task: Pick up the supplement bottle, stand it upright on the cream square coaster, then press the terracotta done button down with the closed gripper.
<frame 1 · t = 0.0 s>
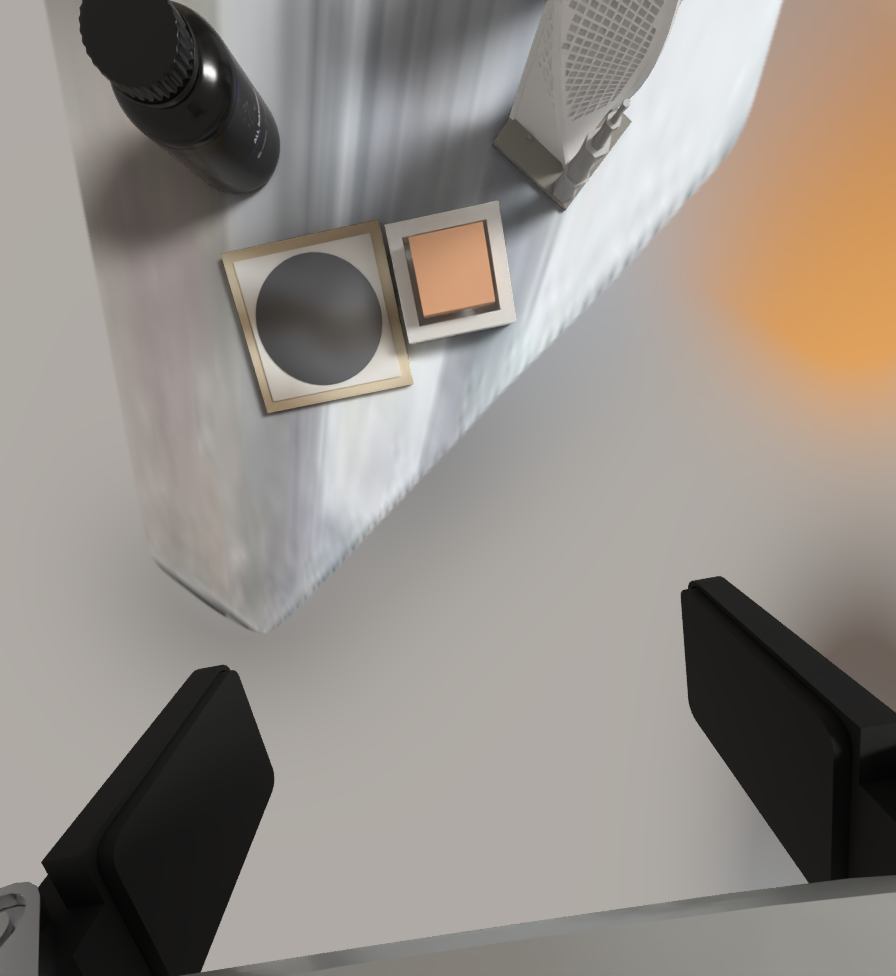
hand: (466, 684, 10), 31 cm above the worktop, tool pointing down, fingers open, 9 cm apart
skyscraper: (557, 121, 34), on the worktop
done button: (452, 272, 33), point 4 cm above the worktop, slide at 0.0 cm
supplement bottle: (236, 144, 34), on the worktop
button housing: (451, 280, 37), on the worktop
cream square coaster: (322, 321, 37), on the worktop
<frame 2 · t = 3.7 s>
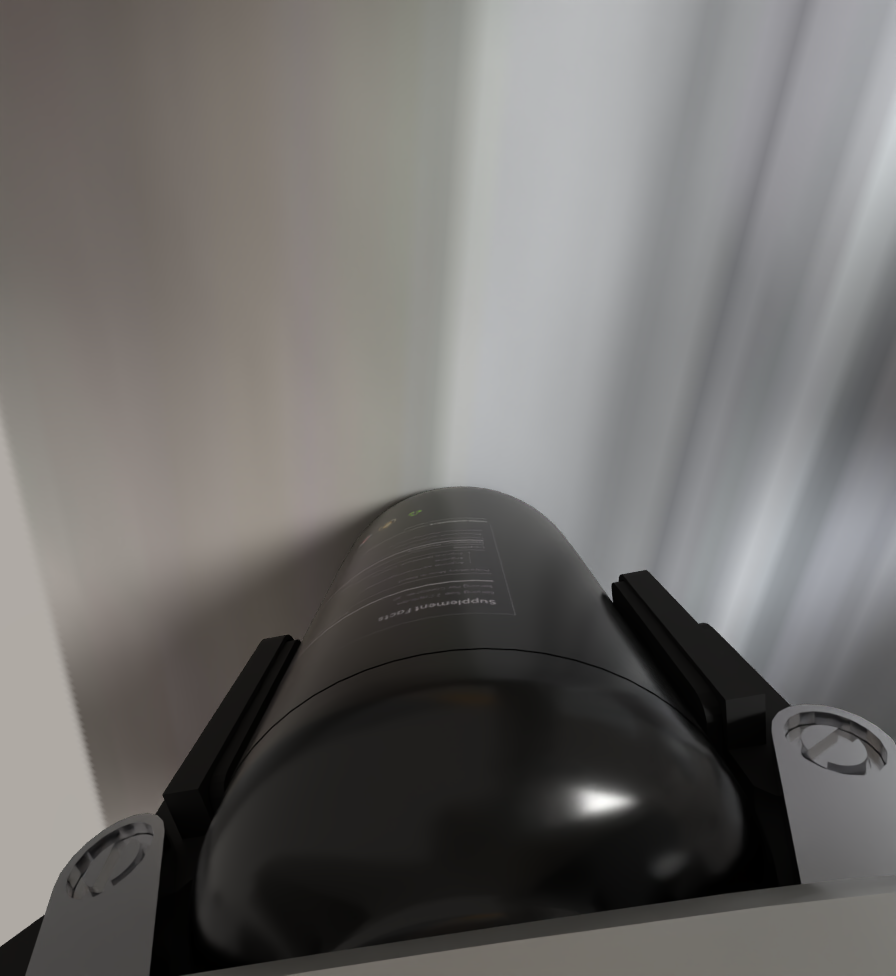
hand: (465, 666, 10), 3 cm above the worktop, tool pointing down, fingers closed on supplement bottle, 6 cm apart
supplement bottle: (460, 590, 14), on the worktop, touching gripper
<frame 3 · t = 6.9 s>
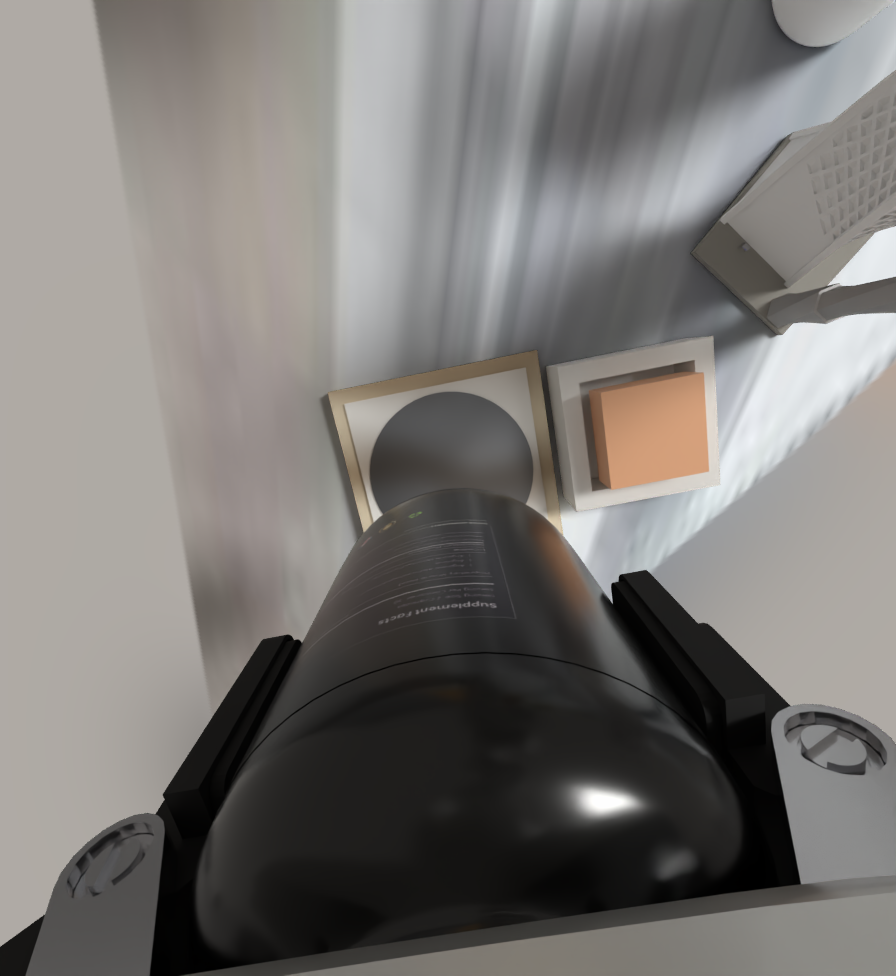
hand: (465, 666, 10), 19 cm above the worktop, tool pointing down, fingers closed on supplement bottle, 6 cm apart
skyscraper: (778, 223, 26), on the worktop
done button: (647, 430, 25), point 4 cm above the worktop, slide at 0.0 cm
supplement bottle: (460, 591, 14), point 16 cm above the worktop, touching gripper
button housing: (621, 421, 28), on the worktop
cream square coaster: (451, 470, 29), on the worktop
when the fingers open (6 cm above the worktop, at t = 9.9 s): supplement bottle drops 1 cm, resting on cream square coaster.
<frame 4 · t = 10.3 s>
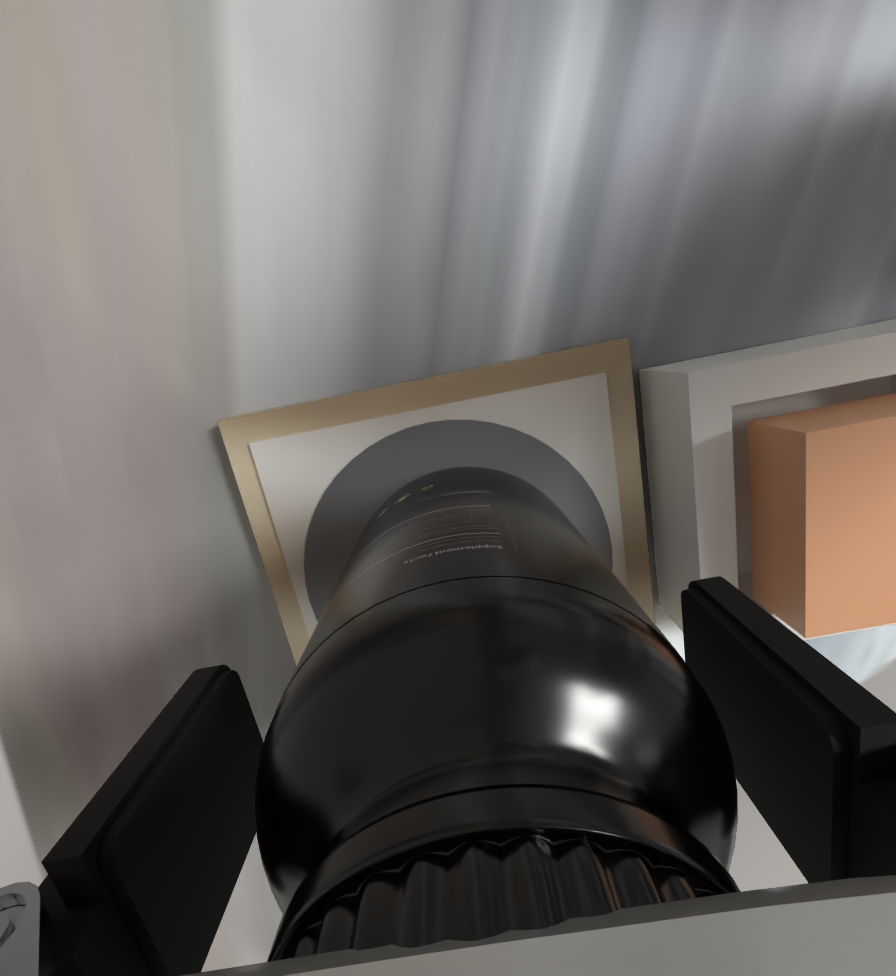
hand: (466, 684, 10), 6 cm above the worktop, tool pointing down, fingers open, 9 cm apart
done button: (880, 507, 12), point 4 cm above the worktop, slide at 0.0 cm
supplement bottle: (466, 563, 15), point 1 cm above the worktop, touching cream square coaster
button housing: (774, 471, 15), on the worktop
cream square coaster: (457, 559, 16), on the worktop
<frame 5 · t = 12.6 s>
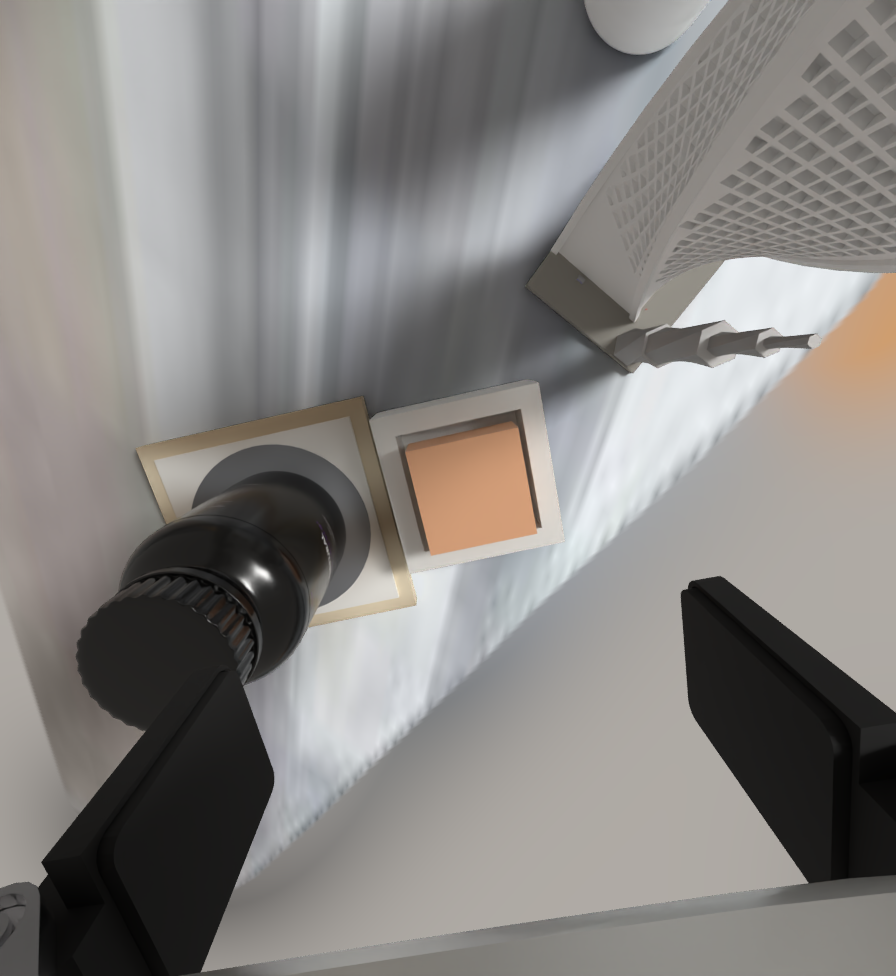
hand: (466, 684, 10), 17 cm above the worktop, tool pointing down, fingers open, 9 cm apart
skyscraper: (620, 251, 23), on the worktop
done button: (471, 487, 22), point 4 cm above the worktop, slide at 0.0 cm
supplement bottle: (286, 526, 26), point 1 cm above the worktop, touching cream square coaster
button housing: (467, 468, 26), on the worktop
cream square coaster: (287, 525, 27), on the worktop
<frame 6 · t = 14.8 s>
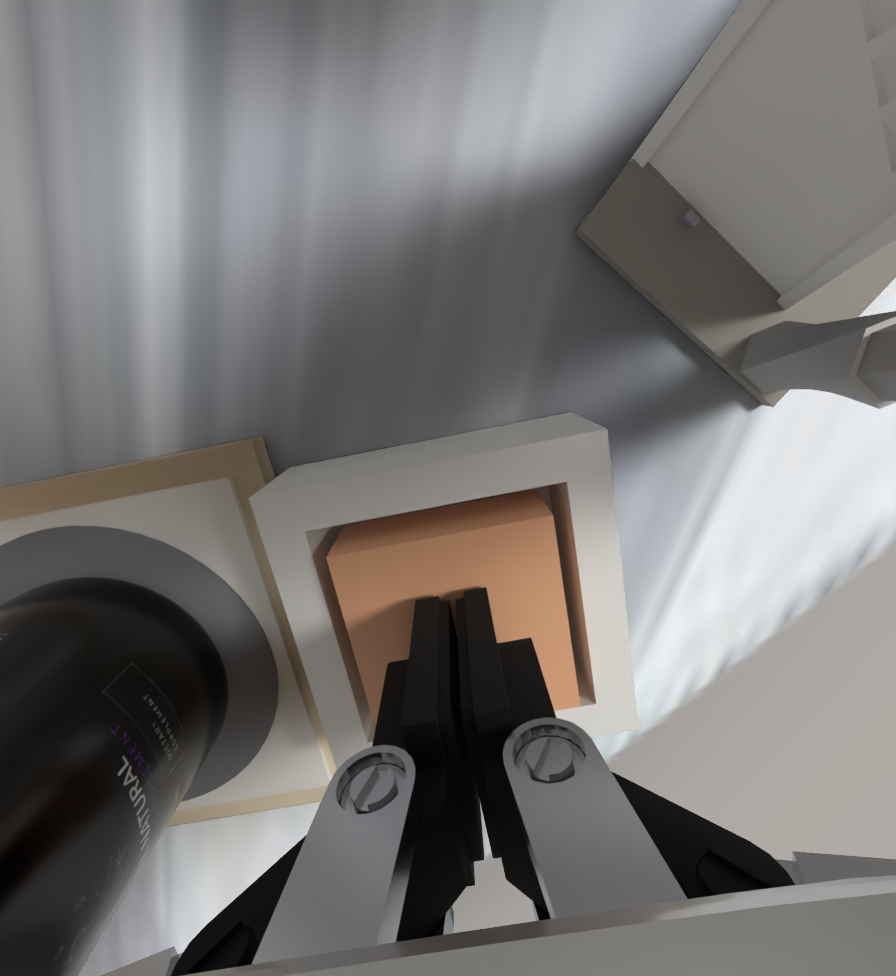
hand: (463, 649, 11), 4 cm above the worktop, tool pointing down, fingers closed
skyscraper: (765, 167, 12), on the worktop
done button: (458, 613, 12), point 3 cm above the worktop, slide at 1.3 cm
supplement bottle: (124, 667, 14), point 1 cm above the worktop, touching cream square coaster
button housing: (455, 568, 14), on the worktop
cream square coaster: (136, 656, 15), on the worktop
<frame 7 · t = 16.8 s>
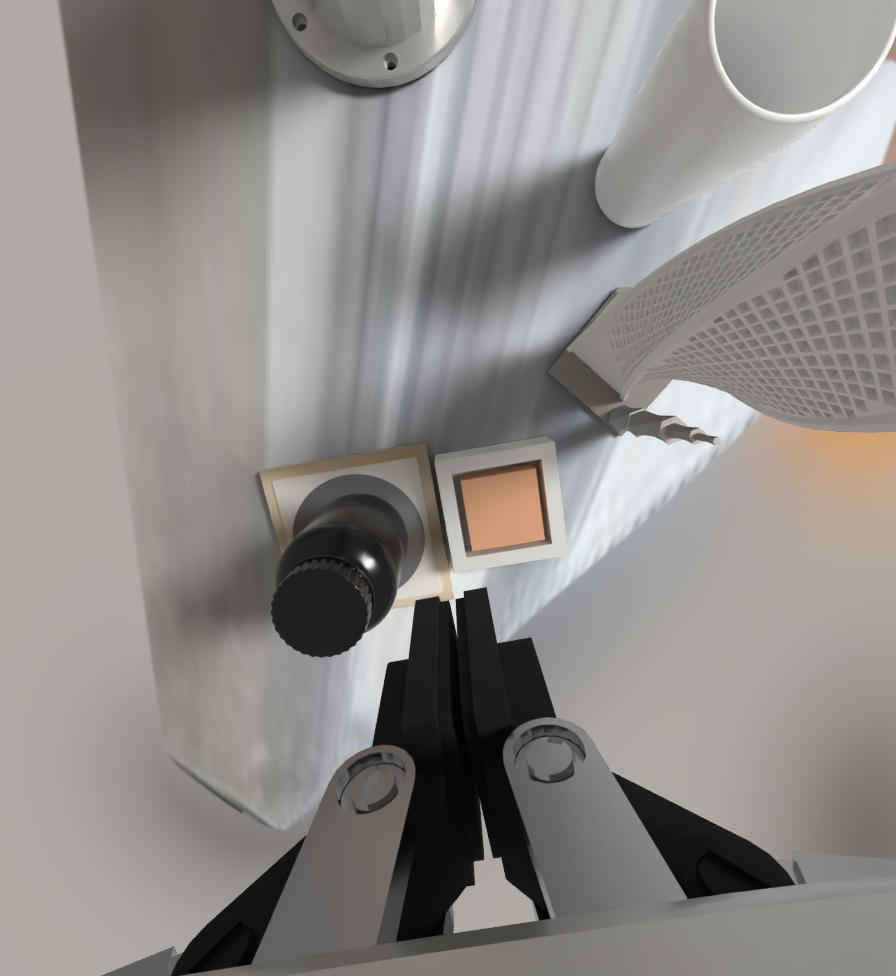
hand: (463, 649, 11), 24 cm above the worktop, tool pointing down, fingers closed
skyscraper: (615, 351, 33), on the worktop
drinking glass: (632, 186, 31), on the worktop
done button: (501, 506, 33), point 2 cm above the worktop, slide at 1.5 cm
supplement bottle: (362, 534, 35), point 1 cm above the worktop, touching cream square coaster
button housing: (498, 498, 35), on the worktop
cream square coaster: (361, 534, 36), on the worktop
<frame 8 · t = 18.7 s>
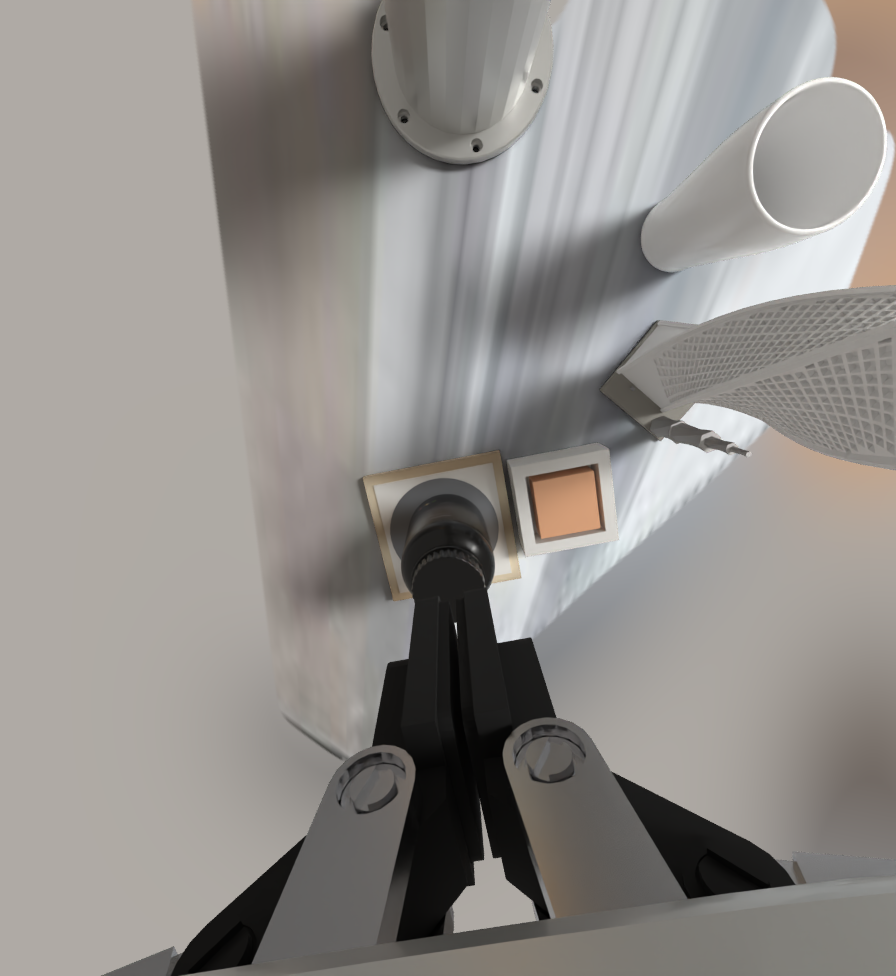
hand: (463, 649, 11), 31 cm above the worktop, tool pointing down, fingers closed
skyscraper: (655, 371, 40), on the worktop
drinking glass: (670, 237, 37), on the worktop
done button: (564, 502, 40), point 2 cm above the worktop, slide at 1.5 cm
supplement bottle: (447, 527, 42), point 1 cm above the worktop, touching cream square coaster
button housing: (557, 494, 42), on the worktop
cream square coaster: (444, 526, 43), on the worktop
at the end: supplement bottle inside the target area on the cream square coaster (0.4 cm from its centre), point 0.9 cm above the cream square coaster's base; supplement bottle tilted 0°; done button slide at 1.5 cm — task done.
